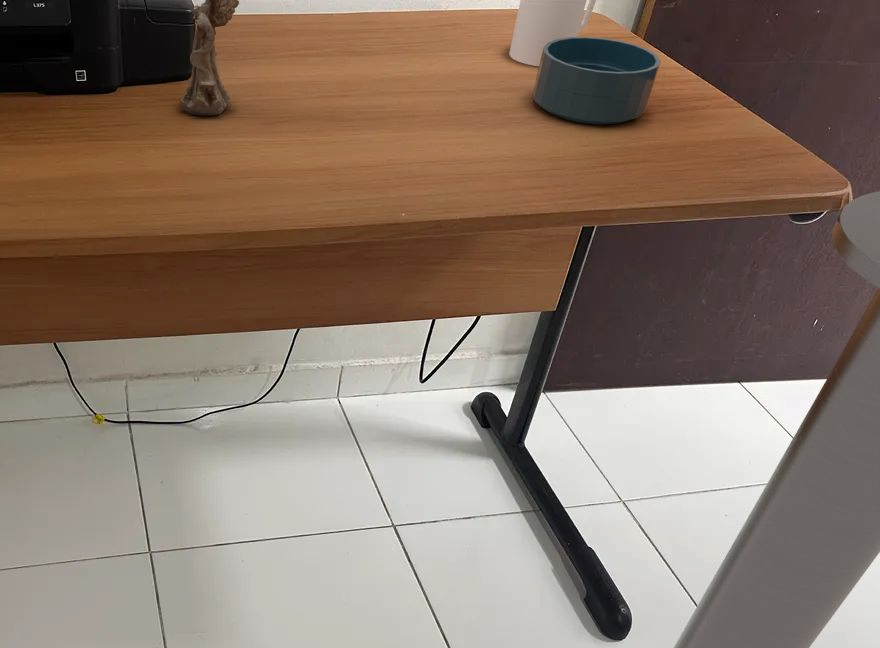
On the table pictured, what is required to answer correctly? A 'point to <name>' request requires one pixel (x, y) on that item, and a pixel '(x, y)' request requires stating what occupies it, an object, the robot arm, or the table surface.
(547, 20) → the cup
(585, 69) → the bowl
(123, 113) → the table surface
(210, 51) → the figurine
